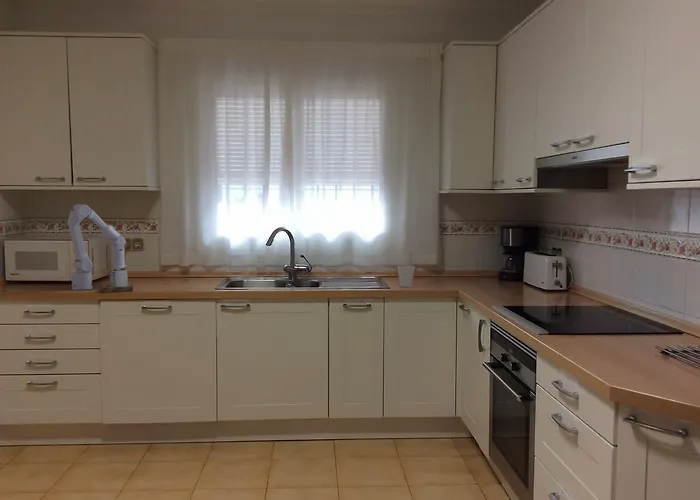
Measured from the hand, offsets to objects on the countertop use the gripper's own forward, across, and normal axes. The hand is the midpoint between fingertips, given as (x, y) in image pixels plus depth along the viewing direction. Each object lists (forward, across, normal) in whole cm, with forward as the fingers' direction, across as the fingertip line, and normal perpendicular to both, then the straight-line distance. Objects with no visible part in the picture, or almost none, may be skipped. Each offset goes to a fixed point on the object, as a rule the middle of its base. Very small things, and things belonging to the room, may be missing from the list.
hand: (119, 282), depth 327 cm
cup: (+2, -51, -148) cm, 156 cm away
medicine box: (+2, -6, 0) cm, 7 cm away
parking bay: (+2, -18, 0) cm, 18 cm away
